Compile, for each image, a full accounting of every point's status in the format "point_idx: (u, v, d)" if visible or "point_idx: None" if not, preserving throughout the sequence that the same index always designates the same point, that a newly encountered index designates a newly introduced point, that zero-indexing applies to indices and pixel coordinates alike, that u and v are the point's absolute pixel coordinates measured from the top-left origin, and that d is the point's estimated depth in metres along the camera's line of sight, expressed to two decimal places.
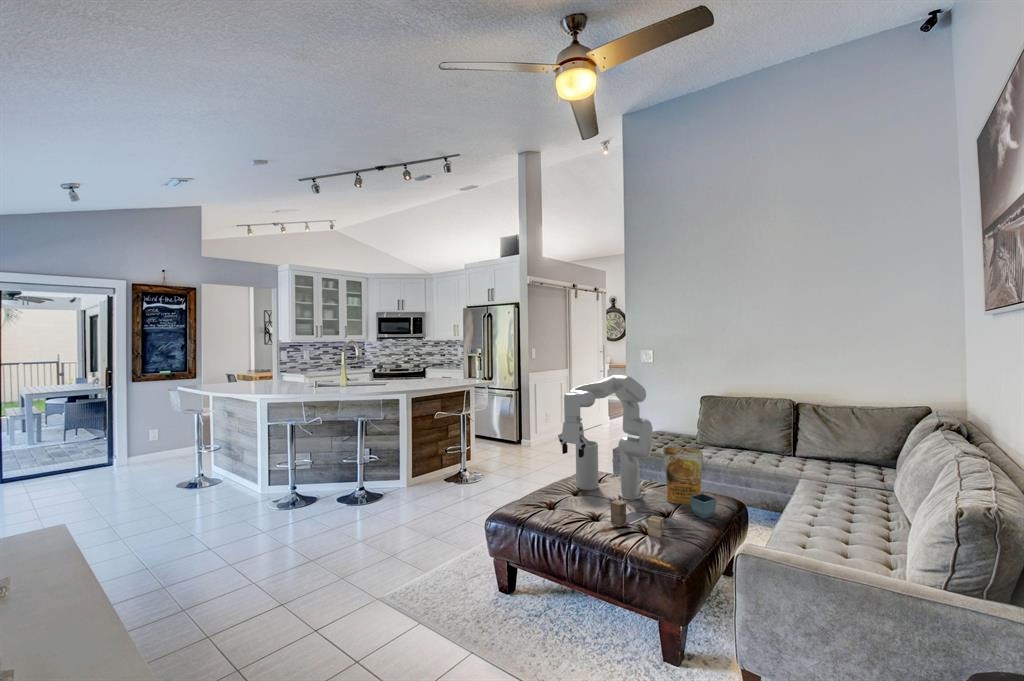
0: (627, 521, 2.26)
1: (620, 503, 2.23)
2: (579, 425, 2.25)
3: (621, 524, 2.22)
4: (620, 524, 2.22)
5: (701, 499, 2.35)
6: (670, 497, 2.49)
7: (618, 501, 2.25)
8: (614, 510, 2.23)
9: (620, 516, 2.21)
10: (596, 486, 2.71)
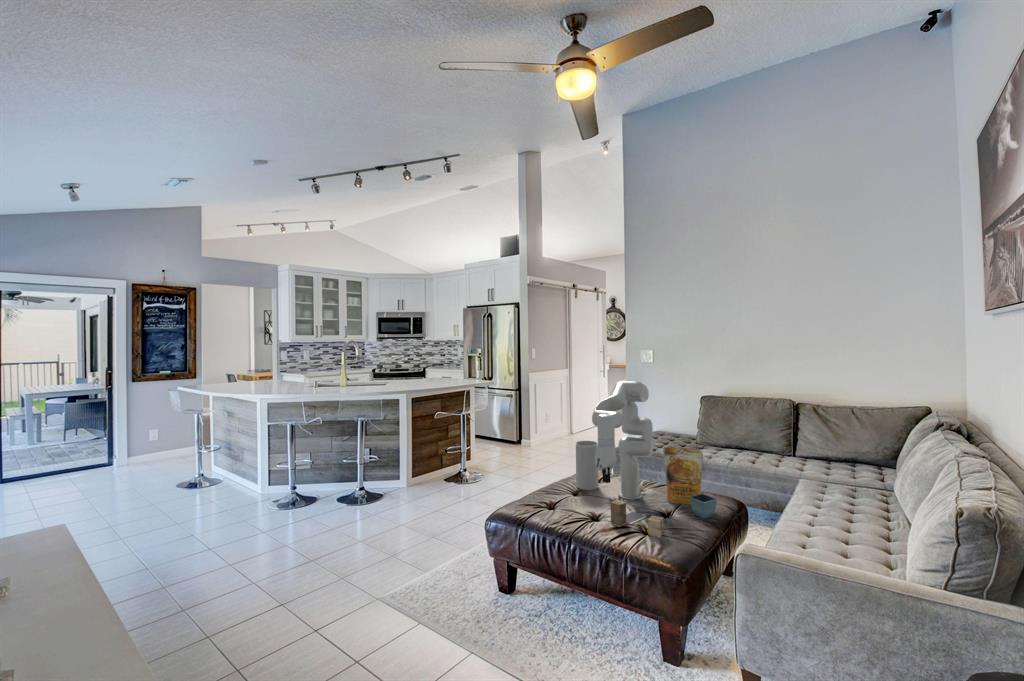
0: (627, 521, 2.26)
1: (620, 503, 2.23)
2: None
3: (621, 524, 2.22)
4: (620, 524, 2.22)
5: (701, 499, 2.35)
6: (670, 497, 2.49)
7: (618, 501, 2.25)
8: (614, 510, 2.23)
9: (620, 516, 2.21)
10: (596, 486, 2.71)
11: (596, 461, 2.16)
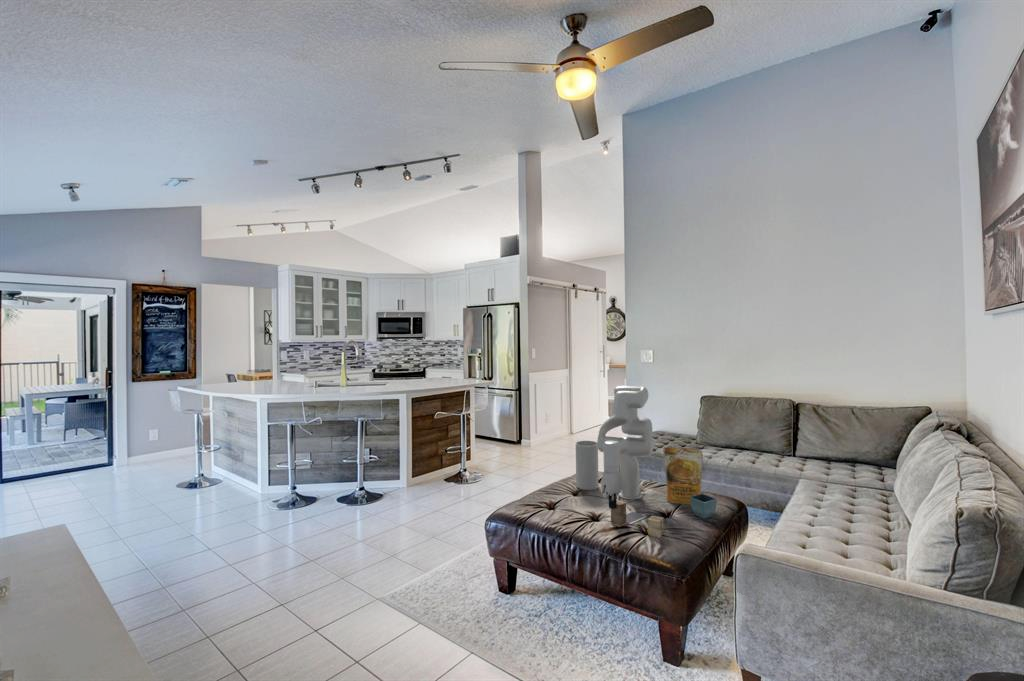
0: (627, 521, 2.26)
1: (620, 503, 2.23)
2: None
3: (621, 524, 2.22)
4: (620, 524, 2.22)
5: (701, 499, 2.35)
6: (670, 497, 2.49)
7: (618, 501, 2.25)
8: (614, 509, 2.23)
9: (620, 516, 2.21)
10: (596, 486, 2.71)
11: (602, 488, 2.19)
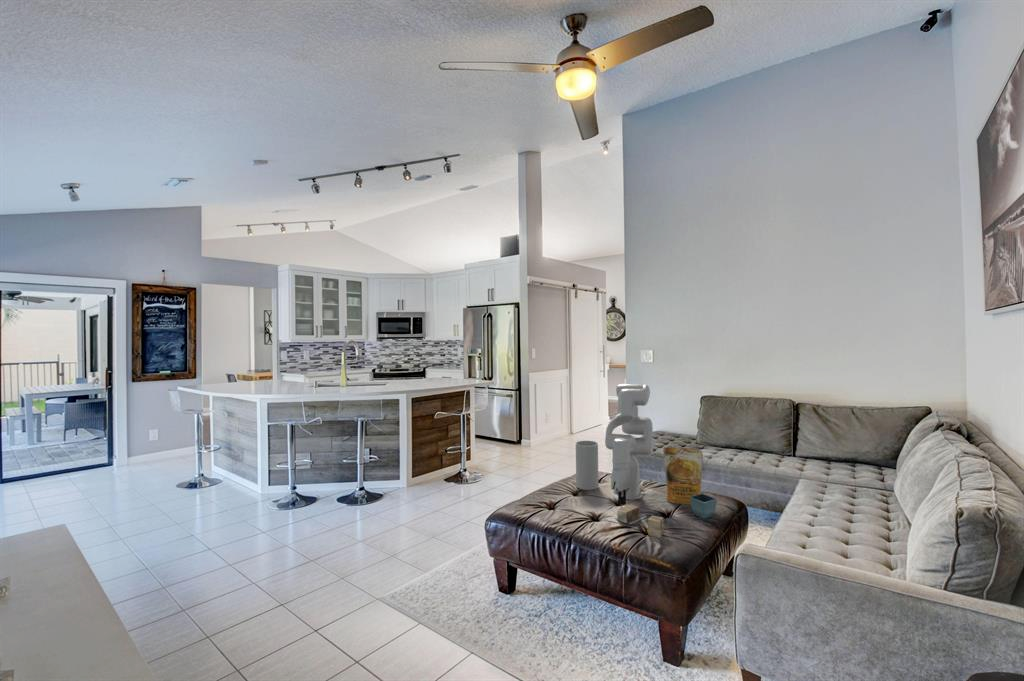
0: None
1: None
2: None
3: (627, 515, 2.25)
4: (627, 513, 2.25)
5: (701, 499, 2.35)
6: (670, 497, 2.49)
7: None
8: (630, 506, 2.31)
9: (632, 511, 2.27)
10: (596, 486, 2.71)
11: (612, 484, 2.24)
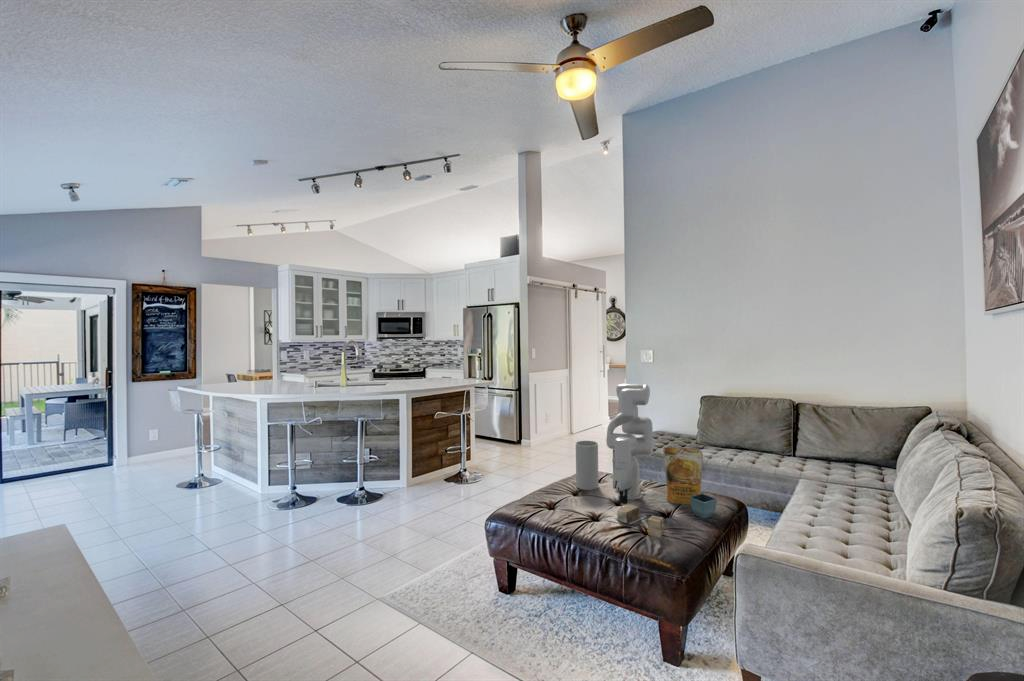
0: None
1: None
2: None
3: (627, 515, 2.25)
4: (627, 513, 2.25)
5: (701, 499, 2.35)
6: (670, 497, 2.49)
7: None
8: (630, 506, 2.31)
9: (632, 511, 2.27)
10: (596, 486, 2.71)
11: (614, 483, 2.24)
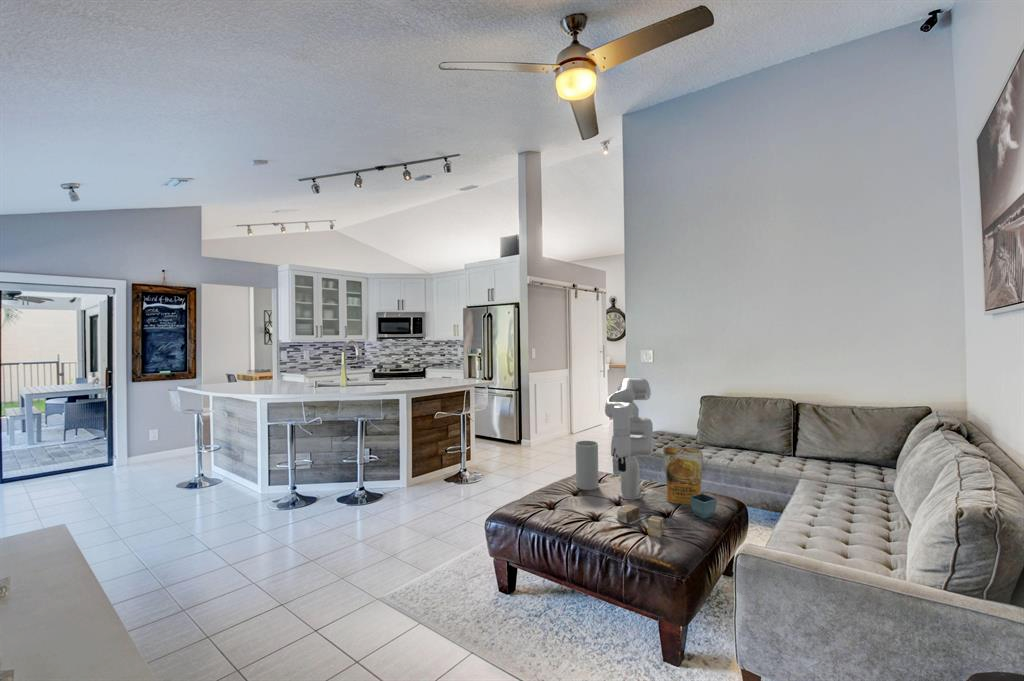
0: None
1: None
2: None
3: (627, 515, 2.25)
4: (627, 513, 2.25)
5: (701, 499, 2.35)
6: (670, 497, 2.49)
7: None
8: (630, 506, 2.31)
9: (632, 511, 2.27)
10: (596, 486, 2.71)
11: (612, 451, 2.23)
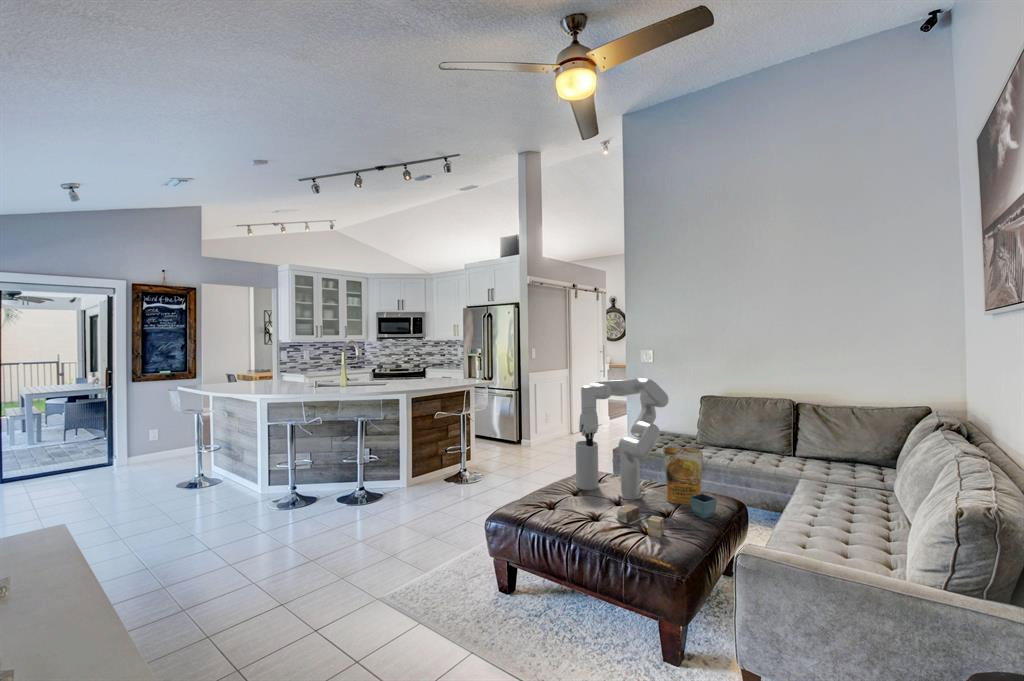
0: None
1: None
2: None
3: (627, 515, 2.25)
4: (627, 513, 2.25)
5: (701, 499, 2.35)
6: (670, 497, 2.49)
7: None
8: (630, 506, 2.31)
9: (632, 511, 2.27)
10: (596, 486, 2.71)
11: (580, 427, 2.43)
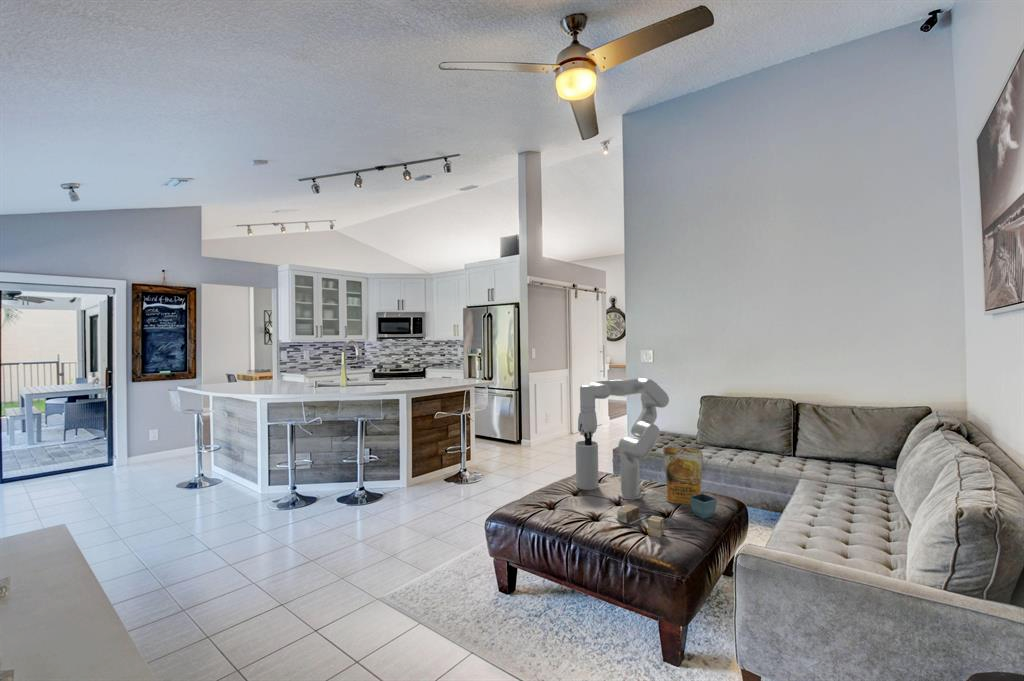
0: None
1: None
2: None
3: (627, 515, 2.25)
4: (627, 513, 2.25)
5: (701, 499, 2.35)
6: (670, 497, 2.49)
7: None
8: (630, 506, 2.31)
9: (632, 511, 2.27)
10: (596, 486, 2.71)
11: (579, 426, 2.44)
